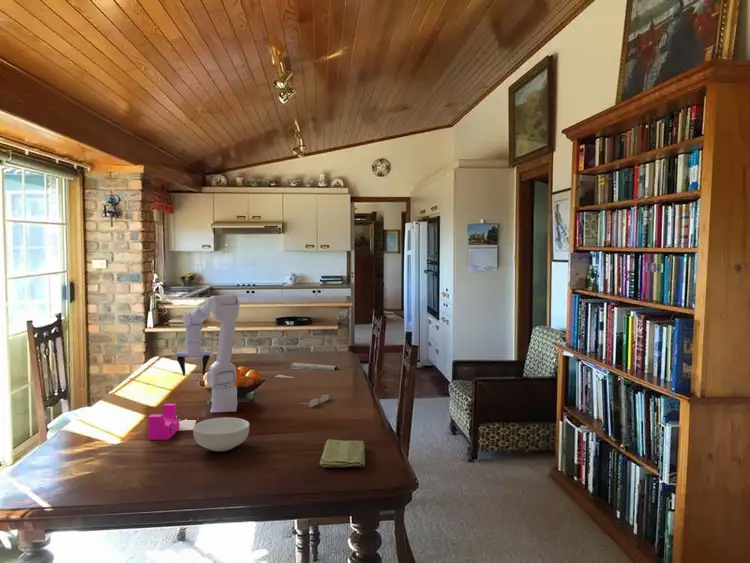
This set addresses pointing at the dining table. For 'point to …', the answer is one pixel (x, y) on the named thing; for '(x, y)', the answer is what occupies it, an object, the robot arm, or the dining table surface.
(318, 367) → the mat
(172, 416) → the toy block
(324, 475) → the dining table surface
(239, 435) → the cereal bowl
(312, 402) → the eyeglasses
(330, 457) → the washcloth
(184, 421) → the white flat panel
